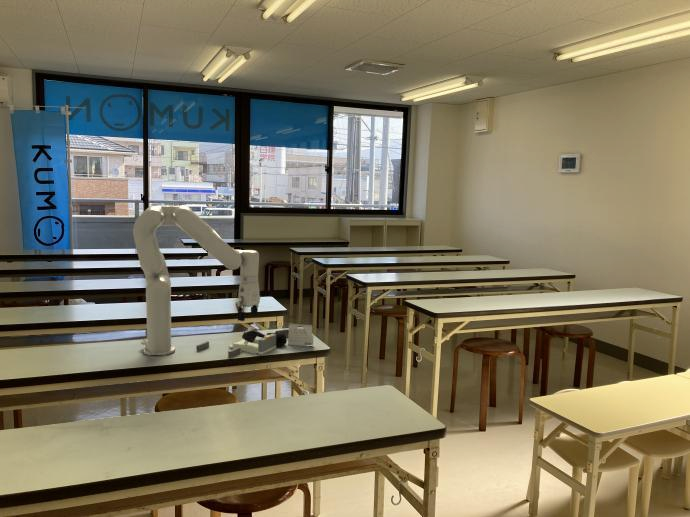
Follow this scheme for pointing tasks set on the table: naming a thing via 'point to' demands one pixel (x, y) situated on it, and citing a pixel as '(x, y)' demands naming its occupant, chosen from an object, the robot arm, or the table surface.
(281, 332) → the phone
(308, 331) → the ink cartridge box
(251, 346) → the port dock
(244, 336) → the power plug
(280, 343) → the webcam
